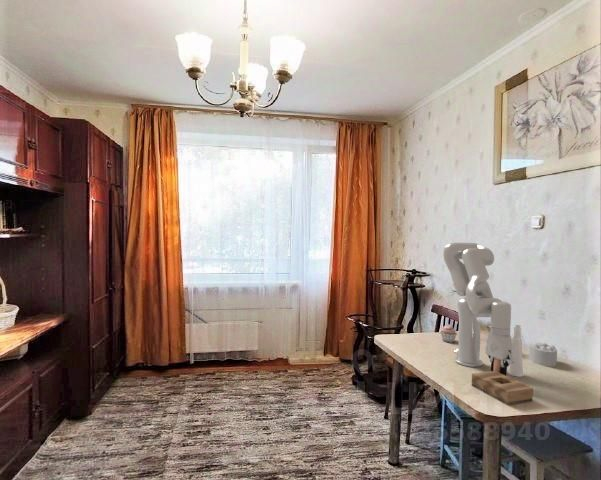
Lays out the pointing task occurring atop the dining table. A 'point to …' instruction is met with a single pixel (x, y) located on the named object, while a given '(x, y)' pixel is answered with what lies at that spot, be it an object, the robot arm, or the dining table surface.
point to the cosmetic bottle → (516, 354)
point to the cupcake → (448, 333)
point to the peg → (497, 365)
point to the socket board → (502, 387)
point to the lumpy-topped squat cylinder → (543, 354)
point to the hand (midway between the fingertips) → (498, 373)
